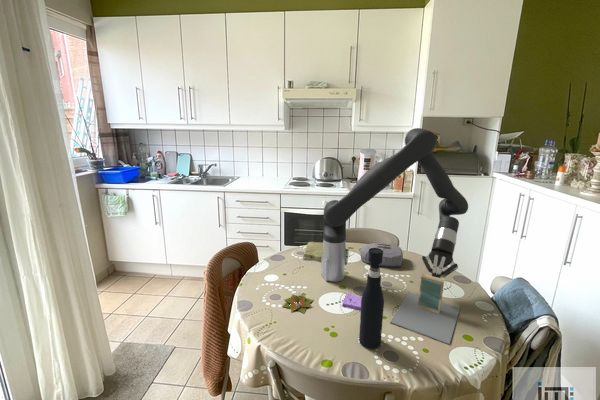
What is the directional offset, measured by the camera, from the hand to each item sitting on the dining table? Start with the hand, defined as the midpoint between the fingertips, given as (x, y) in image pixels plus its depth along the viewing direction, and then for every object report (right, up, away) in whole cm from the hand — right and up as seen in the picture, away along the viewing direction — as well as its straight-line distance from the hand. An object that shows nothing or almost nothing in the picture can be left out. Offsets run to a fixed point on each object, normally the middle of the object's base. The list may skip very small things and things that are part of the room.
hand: (434, 284), depth 109 cm
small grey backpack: (-10, +1, +35) cm, 37 cm away
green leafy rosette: (-50, -8, +1) cm, 50 cm away
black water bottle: (-28, -13, -18) cm, 35 cm away
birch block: (-3, -8, -3) cm, 9 cm away
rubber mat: (-5, -9, -6) cm, 12 cm away
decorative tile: (-36, +3, +42) cm, 56 cm away
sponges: (-27, -8, +1) cm, 28 cm away
